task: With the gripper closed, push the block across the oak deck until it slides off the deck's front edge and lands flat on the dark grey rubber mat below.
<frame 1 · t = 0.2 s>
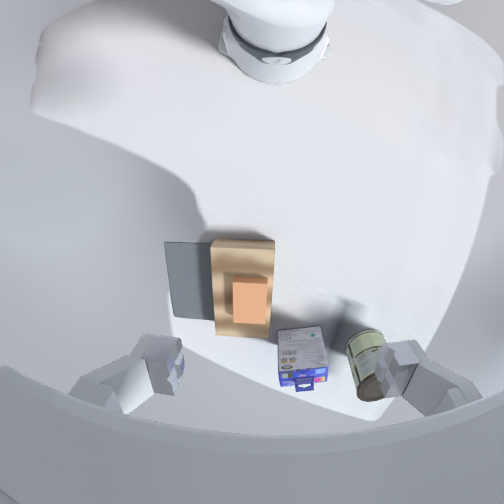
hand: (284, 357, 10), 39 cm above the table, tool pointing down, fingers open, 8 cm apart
mat: (192, 283, 55), on the table
block: (250, 298, 51), point 4 cm above the table, touching deck
ink cartridge box: (298, 336, 60), on the table
deck: (243, 286, 54), on the table
coffee can: (364, 344, 60), on the table
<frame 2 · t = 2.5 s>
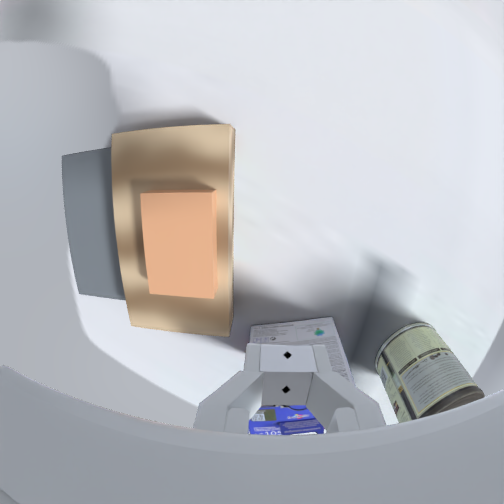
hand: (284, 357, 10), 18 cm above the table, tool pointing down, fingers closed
mat: (98, 227, 28), on the table
block: (183, 240, 24), point 4 cm above the table, touching deck
ink cartridge box: (292, 338, 32), on the table
deck: (180, 228, 28), on the table
coffee can: (406, 350, 32), on the table
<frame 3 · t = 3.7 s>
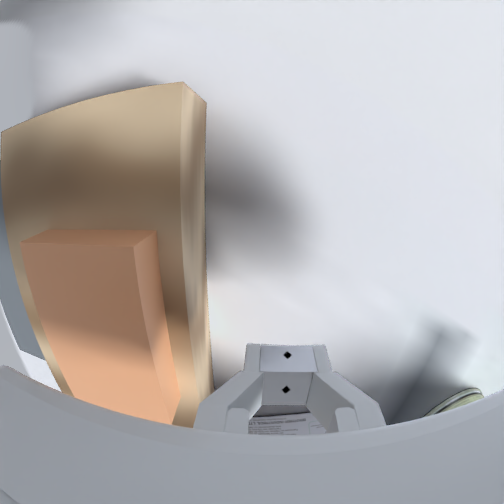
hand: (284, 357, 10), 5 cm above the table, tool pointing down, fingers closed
mat: (20, 271, 16), on the table
block: (110, 322, 11), point 4 cm above the table, touching deck
ink cartridge box: (301, 427, 19), on the table
deck: (120, 284, 15), on the table
coffee can: (444, 418, 19), on the table
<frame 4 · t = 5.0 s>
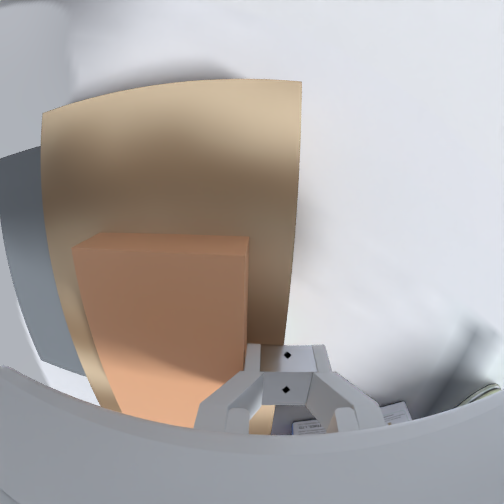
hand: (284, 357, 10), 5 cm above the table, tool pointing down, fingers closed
mat: (48, 276, 15), on the table
block: (177, 336, 11), point 4 cm above the table, touching deck
ink cartridge box: (345, 427, 19), on the table
deck: (180, 292, 15), on the table
coffee can: (467, 413, 19), on the table
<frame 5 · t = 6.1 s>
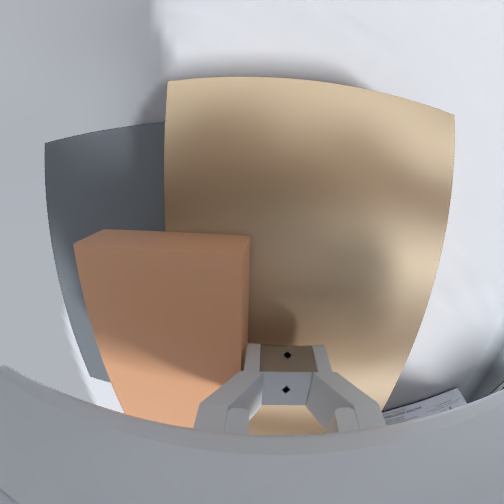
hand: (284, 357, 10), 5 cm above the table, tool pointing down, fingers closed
mat: (118, 284, 15), on the table
block: (178, 334, 11), point 4 cm above the table, touching gripper
ink cartridge box: (407, 416, 19), on the table
deck: (296, 297, 15), on the table
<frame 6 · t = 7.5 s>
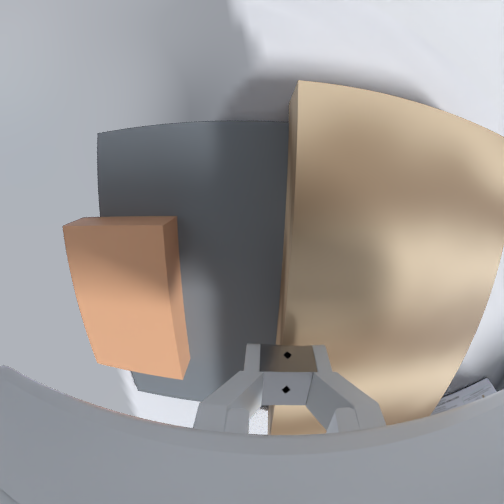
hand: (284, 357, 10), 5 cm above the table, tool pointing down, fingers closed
mat: (188, 292, 15), on the table
block: (119, 309, 13), point 2 cm above the table, tilted 180°, touching mat
ink cartridge box: (444, 407, 18), on the table
deck: (373, 299, 14), on the table
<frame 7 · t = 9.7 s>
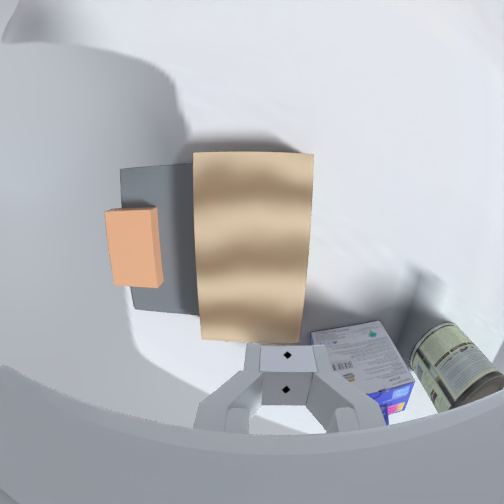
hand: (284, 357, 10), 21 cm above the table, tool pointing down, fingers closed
mat: (162, 243, 31), on the table
block: (130, 250, 29), point 2 cm above the table, tilted 180°, touching mat
ink cartridge box: (344, 341, 34), on the table
deck: (253, 245, 30), on the table
coffee can: (435, 347, 34), on the table
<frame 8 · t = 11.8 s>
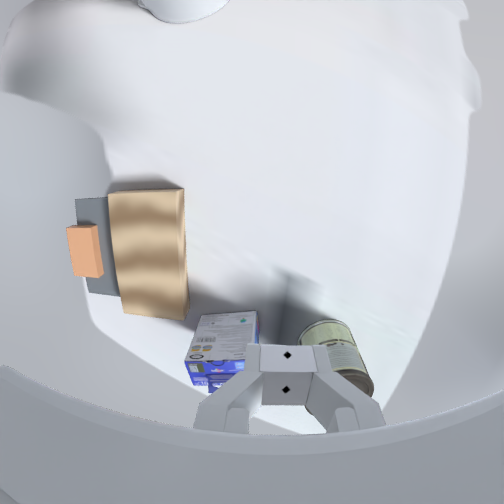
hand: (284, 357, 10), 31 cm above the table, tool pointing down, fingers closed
mat: (102, 248, 43), on the table
block: (81, 253, 41), point 2 cm above the table, tilted 180°, touching mat
ink cartridge box: (230, 325, 46), on the table
deck: (154, 251, 42), on the table
coffee can: (324, 341, 47), on the table
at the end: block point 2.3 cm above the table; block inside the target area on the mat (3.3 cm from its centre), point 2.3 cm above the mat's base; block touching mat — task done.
